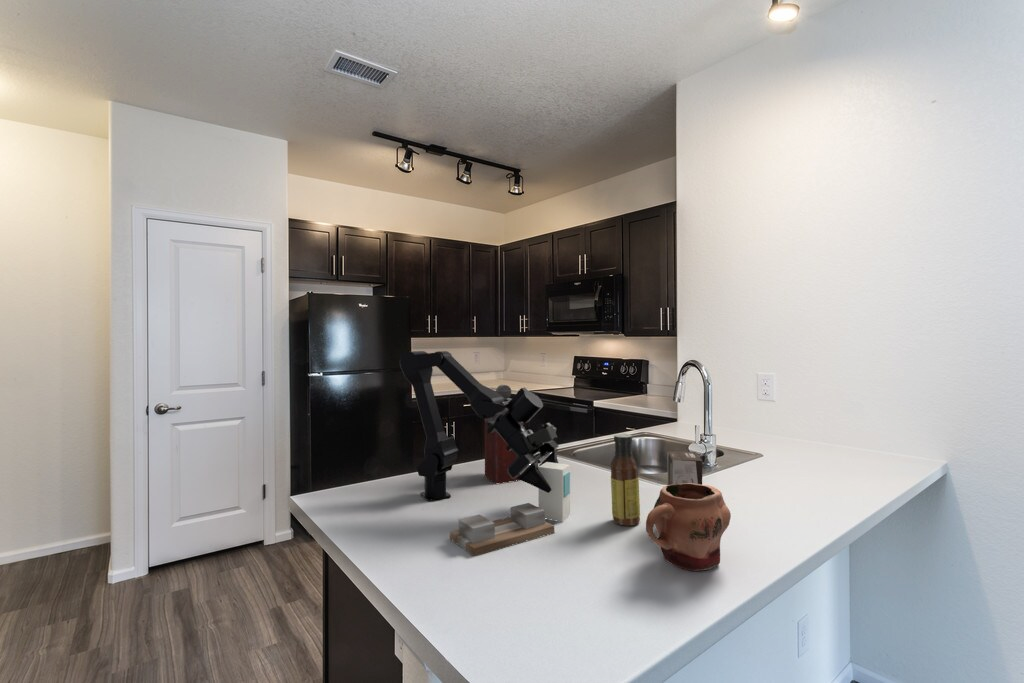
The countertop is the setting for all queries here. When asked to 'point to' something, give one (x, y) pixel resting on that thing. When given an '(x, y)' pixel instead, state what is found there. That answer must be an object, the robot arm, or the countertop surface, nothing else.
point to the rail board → (501, 529)
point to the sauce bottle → (624, 483)
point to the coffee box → (684, 468)
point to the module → (555, 491)
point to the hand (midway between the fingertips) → (557, 486)
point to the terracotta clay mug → (689, 525)
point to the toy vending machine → (498, 448)
